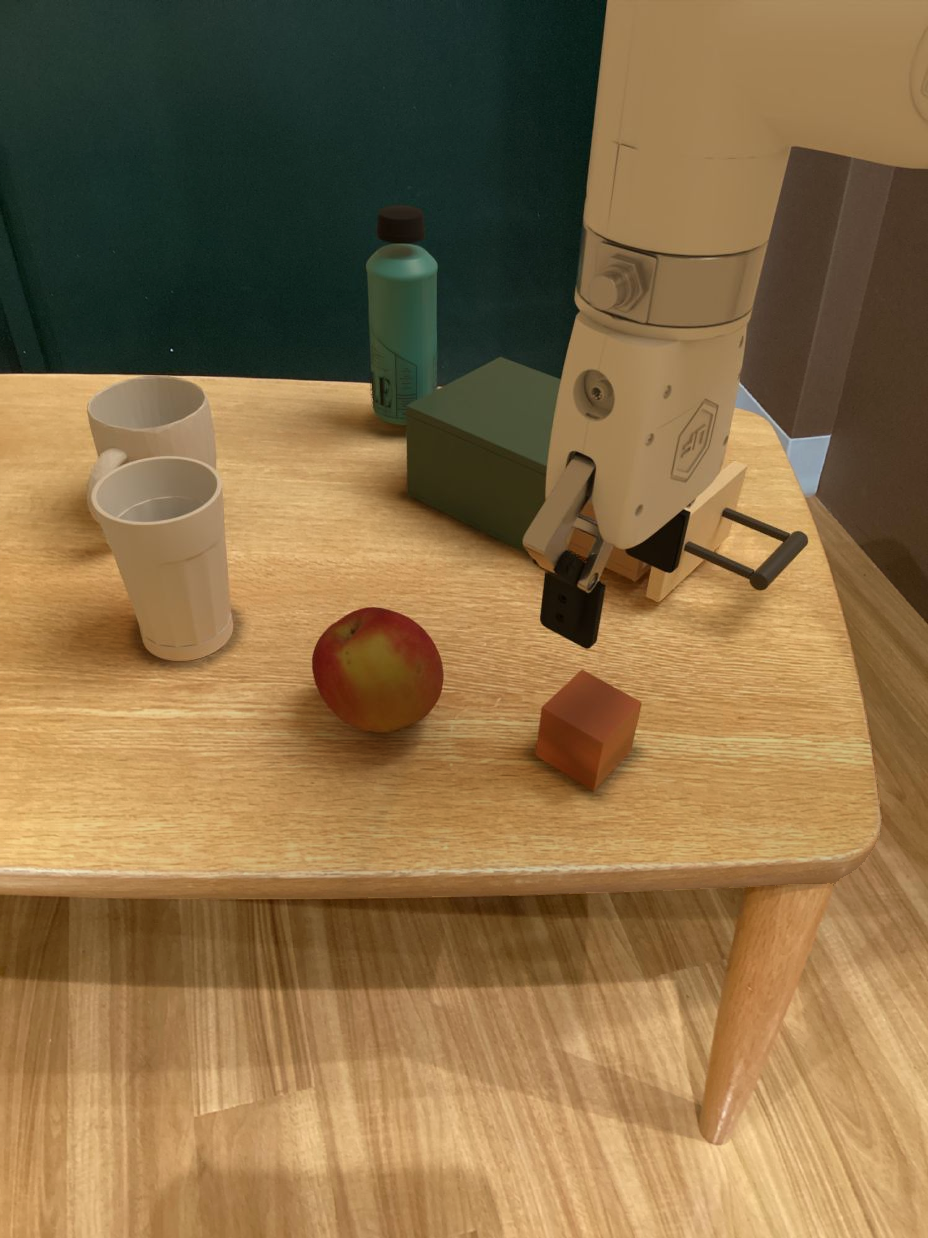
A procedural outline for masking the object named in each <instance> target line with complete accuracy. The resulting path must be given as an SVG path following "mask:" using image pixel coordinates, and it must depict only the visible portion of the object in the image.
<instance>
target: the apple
mask: <svg viewBox="0 0 928 1238" xmlns="http://www.w3.org/2000/svg"><path fill="white" fill-rule="evenodd" d="M311 670H312V676H313V680H314V684H315V687H316V689H317V692H318V693H319V696H320V698H321V699H322V701H324V703H325V704H326V706H327V707H328V708H329V709H330V711H332V712H333V713H334V714H335V715H336V716H337V717H338V718H339V719H340V720H341V721H342V720H343V722H344V723H346V724H348V725H350V726H352V727H354V728H357V729H359V730H361V731H366V732H373V733H374V732H375V733H388V732H394V731H397V730H400V729H402V728H406V727H408V726H410V725H413V724H415V723H418V722H419V721H420V720H422V719H424V718H425V717H427V716H428V714H430V712H431V711H432V710H433V709H434V708H435V706H436V705H437V704H438V702H439V700H440V696H441V695H442V692H443V687H444V686H443V685H444V677H445V676H444V666H443V660H442V657H441V654H440V652H439V650H438V648H437V646H436V644H435V643H434V641H433V639H432V637H431V636H430V634H429V633H428V632H427V631H426V630H425V629H424V628H423V627H422V626H421V624H418V622H416V621H415V620H413V619H412V618H410V617H409V616H407V615H406V614H405V615H404V614H402V613H401V612H397V611H395V610H391V609H388V608H384V607H379V606H369V607H367V606H366V607H362V608H358V609H356V610H353V611H351V612H349V613H347V614H346V615H343V616H342V617H341V618H339V619H338V620H336V621H335V622H333V623H332V624H330V625H329V626H328V627H327V628H326V629H325V631H323V633H322V634H321V635H320V637H319V638H318V640H317V641H316V643H315V646H314V649H313V652H312V659H311Z"/></svg>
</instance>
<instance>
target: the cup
mask: <svg viewBox="0 0 928 1238" xmlns="http://www.w3.org/2000/svg"><path fill="white" fill-rule="evenodd" d="M223 492H224V491H223V479H222V477H221V475H220V474H219V472H218V471H217V469H216V470H215V469H214V468H213V467H211V466H210V465H208V464H206V463H204V462H201V461H199V460H195V459H192V458H186V457H178V456H160V457H151V458H145V459H141V460H137V461H133V462H130V463H127V464H124V465H122V466H120V467H118V468H116V469H114V470H112V471H110V472H109V473H107V474H106V475H105V476H103V477H102V478H101V479H100V480H99V481H98V482H97V483H96V485H95V486H94V488H93V490H92V494H91V501H92V504H93V507H94V510H95V512H96V515H97V517H98V520H99V522H100V524H99V525H100V527H101V530H102V532H103V535H104V537H105V540H106V543H107V545H108V547H109V548H110V550H111V553H112V556H113V558H114V560H115V563H116V566H117V569H118V572H119V575H120V576H121V579H122V582H123V585H124V588H125V591H126V593H127V596H128V598H129V601H130V604H131V606H132V609H133V612H134V614H135V618H136V620H137V622H138V627H139V632H140V636H141V639H142V643H143V646H144V647H145V649H146V650H147V651H148V652H149V653H150V654H152V655H153V656H155V657H157V658H159V659H161V660H166V661H172V662H188V661H193V660H198V659H201V658H205V657H208V656H209V655H211V654H212V655H213V653H216V652H217V651H218V650H220V649H221V648H222V647H224V646H225V645H226V644H227V643H228V641H229V640H230V638H231V636H232V635H233V632H234V620H233V616H232V608H231V606H232V605H231V594H230V593H231V592H230V581H229V567H228V553H227V552H228V551H227V539H226V528H225V526H226V525H225V512H224V511H225V510H224V494H223Z"/></svg>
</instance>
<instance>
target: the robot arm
mask: <svg viewBox="0 0 928 1238" xmlns="http://www.w3.org/2000/svg"><path fill="white" fill-rule="evenodd" d="M603 27H604V28H603V36H602V45H601V52H600V53H601V54H600V65H599V72H598V81H597V91H596V100H595V108H594V118H593V127H592V136H591V143H590V144H591V145H590V154H589V162H588V170H587V171H588V172H587V181H586V196H585V200H584V209H583V217H582V218H583V219H582V226H581V235H580V245H579V253H578V260H577V261H578V262H577V271H576V281H575V290H574V304H575V305H576V307H577V309H578V310H579V312H578V313H577V314H576V315H575V320H574V323H573V327H572V331H571V334H570V339H569V343H568V346H567V350H566V354H565V359H564V364H563V369H562V373H561V377H560V379H561V382H560V387H559V392H558V397H557V403H556V408H555V414H554V419H553V426H552V432H551V439H550V446H549V454H548V462H547V473H546V491H545V496H546V501H545V502H544V504H543V506H542V507H541V509H540V510H539V512H538V514H537V515H536V517H535V518H534V520H533V522H532V523H531V525H530V526H529V528H528V530H527V531H526V533H525V535H524V538H523V546H524V547H525V549H526V550H527V552H528V553H529V554H530V555H529V556H530V557H531V559H532V563H533V564H534V565H535V566H537V567H539V570H541V571H542V572H544V579H543V587H542V595H541V596H542V597H541V604H540V613H539V614H540V615H539V621H540V624H541V625H542V626H543V627H544V628H546V629H547V630H549V631H551V632H553V633H555V634H557V635H559V636H560V637H562V638H564V639H566V640H568V641H570V642H572V643H573V644H575V645H578V646H579V647H581V648H583V649H585V650H588V649H591V648H592V647H593V646H594V645H595V644H596V643H597V641H598V637H599V630H600V625H601V624H600V623H601V618H602V613H603V612H602V611H603V607H604V600H605V594H606V587H607V584H605V583H604V582H602V581H601V580H600V579H601V576H602V575H603V572H604V569H605V568H606V567H605V565H606V562H607V560H608V558H609V555H610V553H611V551H612V548H613V546H614V545H615V546H616V547H617V548H620V549H625V551H626V553H627V554H628V555H629V556H631V557H634V558H636V559H638V560H640V561H642V562H644V563H647V564H649V565H651V566H653V567H655V568H657V569H659V570H662V571H664V572H667V573H672V572H673V571H674V570H675V569H676V568H678V566H679V562H680V557H681V553H682V548H683V544H684V540H685V535H686V531H687V527H688V522H689V518H690V514H691V512H690V511H687V510H685V509H684V508H685V507H686V508H690V507H691V506H692V505H693V503H694V502H695V500H696V498H697V497H698V496H699V495H700V494H701V493H702V492H703V491H704V490H706V489H707V488H708V487H709V486H710V485H711V484H712V483H713V481H714V480H715V479H716V477H717V476H718V474H719V473H720V472H721V471H722V468H723V464H724V461H725V457H726V452H727V448H728V443H729V437H730V433H731V428H732V423H733V419H734V418H733V417H734V413H735V407H736V402H737V397H738V392H739V385H740V381H741V376H742V375H741V374H742V369H743V362H744V355H745V349H746V348H745V347H746V341H747V331H748V330H747V329H748V324H749V322H750V320H751V317H752V314H753V310H754V309H753V308H754V303H755V299H756V295H757V291H758V287H759V283H760V280H761V279H760V278H761V273H762V270H763V265H764V261H765V257H766V253H767V250H768V245H769V242H770V235H771V231H772V227H773V223H774V220H775V215H776V212H777V208H778V203H779V199H780V194H781V191H782V187H783V183H784V178H785V175H786V170H787V166H788V162H789V158H790V154H791V149H792V147H799V148H804V149H810V150H815V151H819V152H820V151H821V152H826V153H829V154H830V153H831V154H836V155H839V156H844V157H850V158H852V159H853V158H854V159H858V160H863V161H868V162H871V163H876V164H880V165H885V166H892V167H897V168H903V169H904V168H905V169H919V170H920V169H923V170H927V169H928V0H606V10H605V18H604V25H603ZM586 503H588V504H590V505H593V508H594V512H595V516H596V521H595V520H592V519H590V518H588V517H586V516H584V515H581V514H580V513H581V511H582V510H583V508H584V506H585V505H586ZM575 528H576V529H578V530H580V531H582V532H585V533H587V534H589V535H591V536H593V537H595V540H594V543H593V545H592V548H591V550H590V552H589V555H588V557H587V558H585V559H586V560H585V561H584V560H583V559H581V557H579V556H578V555H577V554H576V553H574V552H572V551H570V550H568V549H567V547H568V544H569V541H570V539H571V537H572V534H573V532H574V529H575Z"/></svg>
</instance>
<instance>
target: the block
mask: <svg viewBox="0 0 928 1238" xmlns="http://www.w3.org/2000/svg"><path fill="white" fill-rule="evenodd" d="M642 705H643V701H640V700H639V699H637V698H635V697H633V696H632V695H629V694H628V693H627V692H624V691H623V690H621V689H619V688H617V687H615V686H613V685H611V684H609V683H608V682H606V681H604V680H602V679H600V678H598V677H597V676H595V675H593V674H591V673H589V672H587V671H585V670H584V669H581V670H580V671H578V672H577V674H576V675H574V676H573V677H572V678H571V679H570V680H569V681H568V682H567V683H566V684H565V685H564V686H563V687H561V689H559V690H558V691H557V692H556V693H555V694H554V695H553V696H552V697H551V698H550V699H549V700H547V702H545V704H543V705H542V706H541V709H540V717H539V724H538V732H537V733H538V734H537V740H536V748H535V757H537V758H539V759H540V760H542V761H543V762H545V763H546V764H548V765H550V766H551V767H553V768H554V769H556V770H557V771H560V772H561V773H563V774H564V775H566V776H567V777H569V778H571V779H572V780H574V781H576V782H577V783H579V784H581V785H582V786H584V787H586V789H588V790H590V791H592V792H595V791H596V790H597V789H598V788H599V787H600V785H601V784H602V783H603V782H604V781H605V780H606V779H607V777H609V776H610V775H611V773H613V771H614V770H615V769H616V768H617V767H618V766H619V765H620V763H622V761H624V759H625V758H626V757H627V756H628V755H629V754H630V753H631V752H632V748H633V745H634V741H635V736H636V731H637V726H638V722H639V718H640V715H641V714H640V713H641V709H642Z"/></svg>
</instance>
